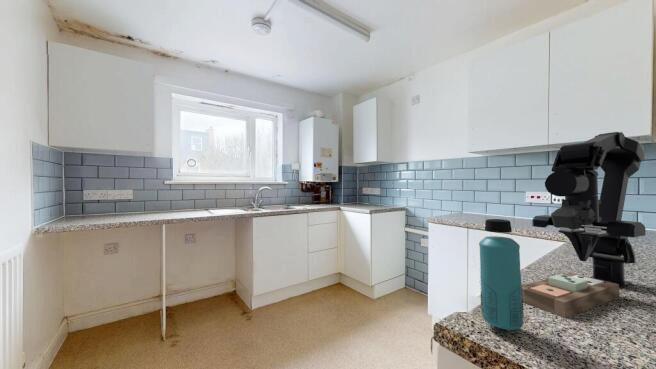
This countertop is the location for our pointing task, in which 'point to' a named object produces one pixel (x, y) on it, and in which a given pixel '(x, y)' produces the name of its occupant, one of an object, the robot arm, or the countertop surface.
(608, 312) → the countertop surface
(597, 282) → the two dot button
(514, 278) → the beverage bottle
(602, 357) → the countertop surface
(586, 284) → the three dot button
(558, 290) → the one dot button
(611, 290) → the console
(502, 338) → the countertop surface
